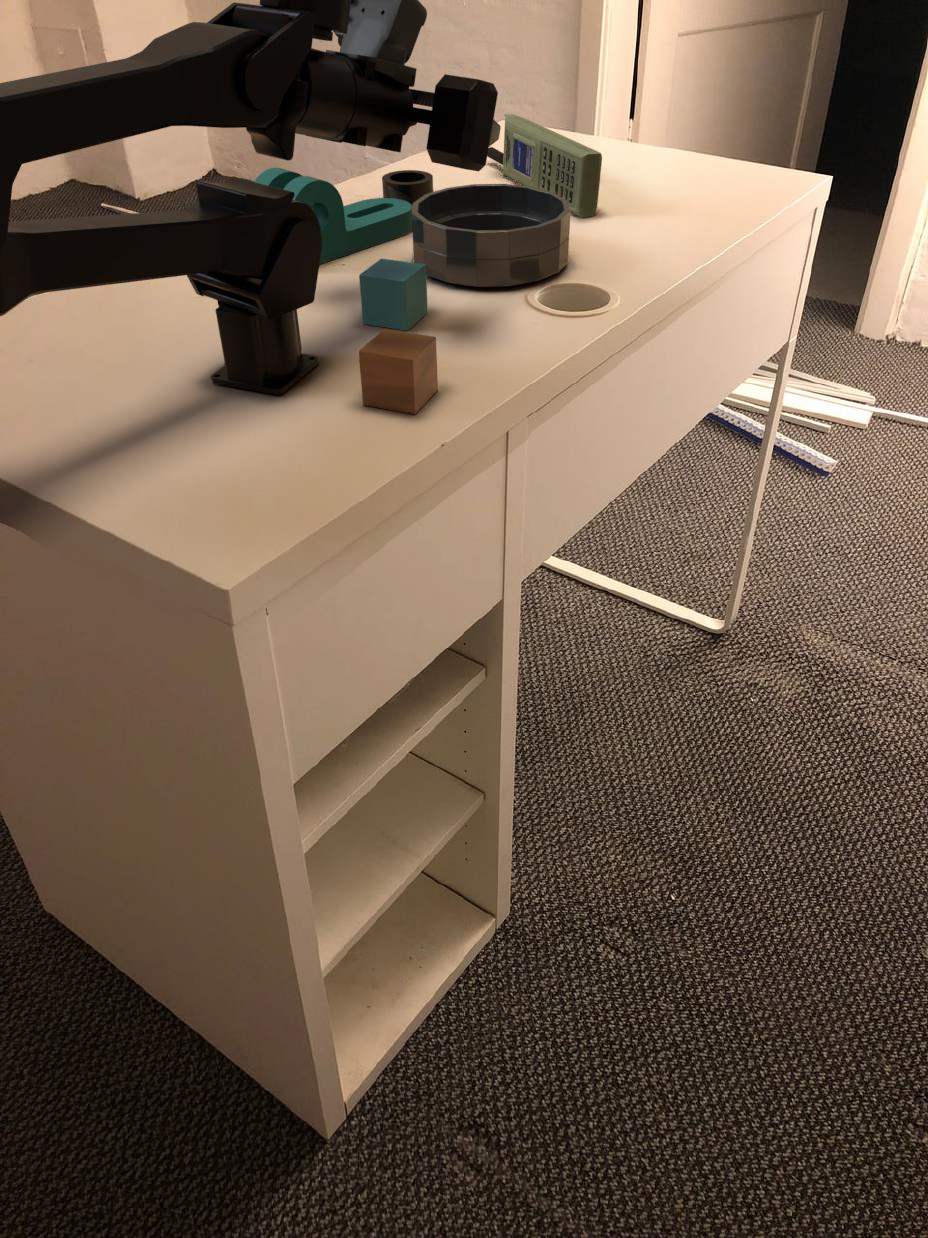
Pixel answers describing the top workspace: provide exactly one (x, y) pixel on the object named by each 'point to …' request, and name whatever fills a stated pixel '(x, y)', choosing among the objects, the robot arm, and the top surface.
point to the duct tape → (407, 185)
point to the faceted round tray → (491, 234)
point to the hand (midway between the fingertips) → (456, 124)
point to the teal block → (393, 294)
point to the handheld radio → (550, 163)
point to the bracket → (343, 214)
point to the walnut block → (398, 371)
